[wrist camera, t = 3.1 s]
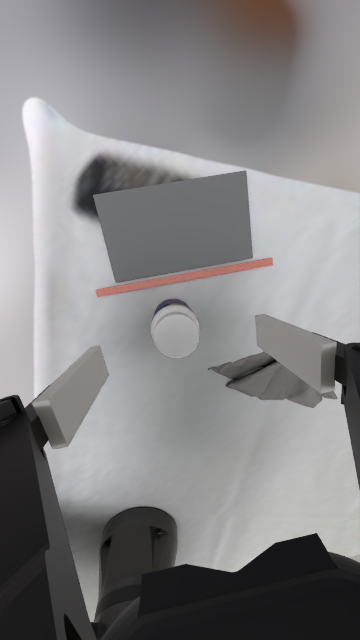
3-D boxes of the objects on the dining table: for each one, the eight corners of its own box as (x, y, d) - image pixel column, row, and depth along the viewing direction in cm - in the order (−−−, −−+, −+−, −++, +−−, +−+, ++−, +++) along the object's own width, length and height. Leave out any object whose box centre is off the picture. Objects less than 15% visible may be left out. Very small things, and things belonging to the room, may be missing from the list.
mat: (116, 282, 26) (115, 282, 25) (94, 196, 23) (93, 194, 23) (251, 258, 26) (252, 257, 26) (244, 172, 24) (246, 170, 23)
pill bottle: (184, 293, 27) (196, 301, 17) (195, 327, 28) (212, 353, 19) (148, 305, 27) (139, 320, 17) (161, 339, 28) (159, 371, 19)
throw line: (98, 296, 26) (97, 296, 26) (96, 289, 26) (95, 289, 25) (271, 265, 27) (272, 264, 27) (270, 258, 27) (272, 257, 26)
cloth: (352, 373, 34) (366, 380, 31) (309, 430, 36) (319, 440, 34) (239, 311, 29) (245, 313, 27) (197, 380, 31) (200, 387, 29)
